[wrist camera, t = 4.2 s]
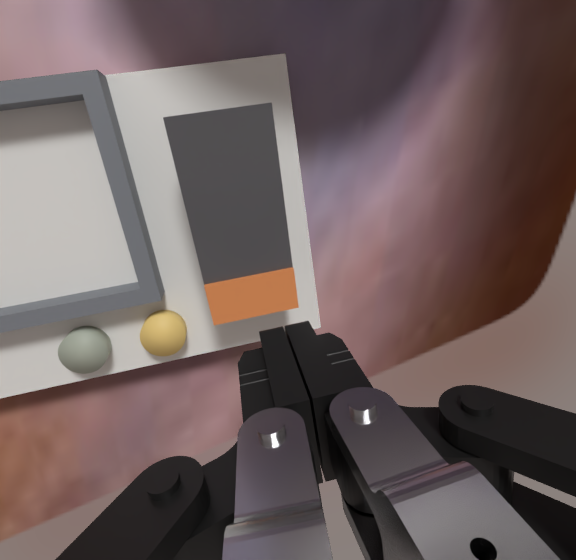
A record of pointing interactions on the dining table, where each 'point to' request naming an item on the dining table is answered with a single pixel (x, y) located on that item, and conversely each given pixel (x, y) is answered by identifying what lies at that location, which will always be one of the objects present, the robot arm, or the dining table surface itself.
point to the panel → (121, 221)
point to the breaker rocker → (235, 209)
